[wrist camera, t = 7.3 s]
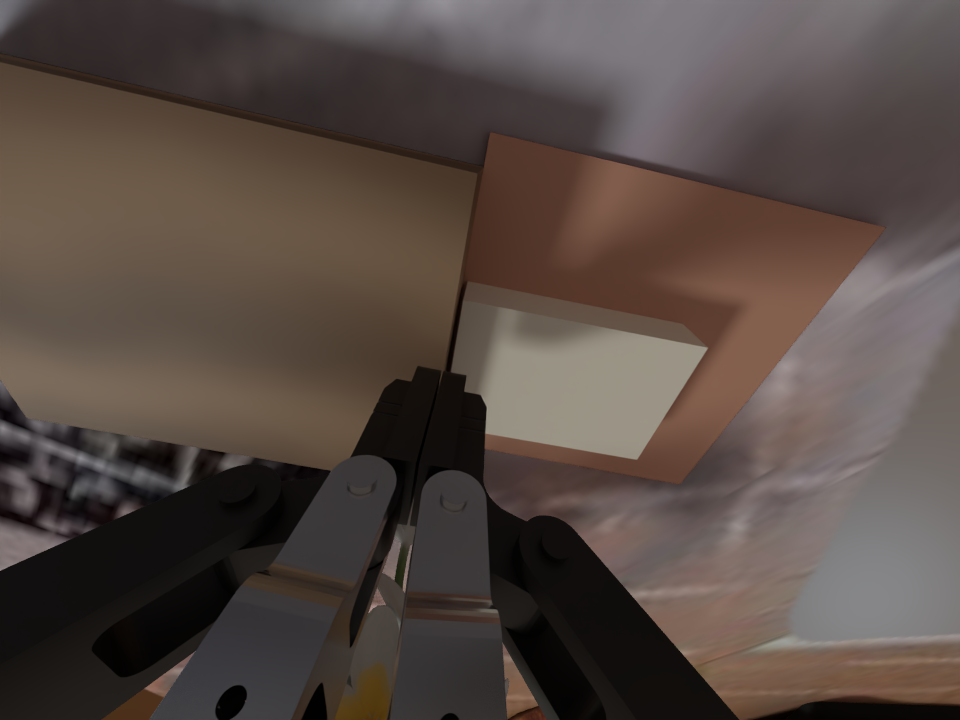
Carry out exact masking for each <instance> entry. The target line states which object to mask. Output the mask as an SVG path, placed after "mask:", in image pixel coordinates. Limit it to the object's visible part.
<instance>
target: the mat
mask: <svg viewBox="0 0 960 720" xmlns="http://www.w3.org/2000/svg"><path fill="white" fill-rule="evenodd" d="M885 229H886V227H882V226H878V225H874V224H869V223H865V222H861V221H857V220H853V219H849V218H845V217H841V216H836V215H832V214H828V213H824V212H820V211H816V210H812V209H807V208H803V207H799V206H795V205H791V204H787V203H783V202H778V201H774V200H770V199H766V198H762V197H758V196H754V195H749V194H745V193H741V192H737V191H733V190H729V189H725V188H720V187H716V186H712V185H708V184H704V183H700V182H696V181H691V180H687V179H683V178H679V177H675V176H671V175H667V174H662V173H658V172H654V171H650V170H646V169H642V168H638V167H633V166H629V165H625V164H621V163H617V162H613V161H609V160H604V159H600V158H596V157H592V156H588V155H584V154H580V153H576V152H571V151H567V150H563V149H559V148H555V147H551V146H547V145H542V144H538V143H534V142H530V141H526V140H522V139H518V138H513V137H509V136H505V135H501V134H497V133H493V132H490V136H489V141H488V147H487V153H486V158H485V164H484V169H483V175H482V180H481V186H480V191H479V197H478V202H477V208H476V214H475V219H474V225H473V230H472V236H471V241H470V247H469V252H468V258H467V263H466V269H465V275H464V280H463V286H462V291H461V297H460V302H459V308H458V313H457V319H456V325H455V330H454V336H453V341H452V347H451V352H450V358H449V363H448V369H447V372H451V368H452V363H453V357H454V351H455V345H456V339H457V333H458V327H459V322H460V316H461V310H462V304H463V299H464V295H465V291H466V286H467V282H468V281H469V282H475V283H480V284H485V285H490V286H495V287H500V288H505V289H510V290H515V291H520V292H525V293H530V294H535V295H540V296H545V297H550V298H555V299H560V300H565V301H570V302H575V303H580V304H585V305H590V306H596V307H601V308H606V309H611V310H616V311H621V312H626V313H631V314H636V315H641V316H646V317H651V318H656V319H661V320H666V321H671V322H676V323H681V324H683V325H685V326H686V327H687V328H688V329H689V330H690V331H691V332H692V333H693V334H694V335H695V336H696V337H697V338H698V339H699V340H700V341H701V342H702V343H704V344H705V345H706V346H707V347H708V349H707V350H706V352H705V354H704V355H703V357H702V358H701V360H700V361H699V363H698V365H697V366H696V368H695V369H694V371H693V372H692V374H691V376H690V377H689V379H688V380H687V382H686V383H685V385H684V387H683V388H682V390H681V391H680V393H679V395H678V396H677V398H676V399H675V401H674V402H673V404H672V406H671V407H670V409H669V410H668V412H667V413H666V415H665V417H664V418H663V420H662V421H661V423H660V424H659V426H658V428H657V429H656V431H655V432H654V434H653V435H652V437H651V439H650V440H649V442H648V443H647V445H646V446H645V448H644V450H643V451H642V453H641V454H640V456H639V457H638V459H637V460H635V459H630V458H624V457H618V456H612V455H607V454H601V453H595V452H589V451H584V450H578V449H572V448H566V447H560V446H555V445H549V444H543V443H537V442H532V441H526V440H520V439H514V438H509V437H503V436H497V435H491V434H486V433H485V449H487V450H492V451H498V452H503V453H509V454H515V455H520V456H526V457H531V458H537V459H542V460H548V461H553V462H559V463H564V464H570V465H575V466H581V467H586V468H592V469H597V470H603V471H608V472H614V473H619V474H625V475H630V476H636V477H641V478H647V479H652V480H658V481H663V482H669V483H674V484H681V483H682V481H683V480H684V479H685V478H686V476H687V475H688V474H689V473H690V471H691V470H692V469H693V468H694V467H695V465H696V464H697V463H698V462H699V460H700V459H701V458H702V457H703V455H704V454H705V453H706V452H707V450H708V449H709V448H710V447H711V445H712V444H713V443H714V442H715V440H716V439H717V438H718V437H719V435H720V434H721V433H722V432H723V430H724V429H725V428H726V427H727V425H728V424H729V423H730V422H731V420H732V419H733V418H734V417H735V415H736V414H737V413H738V412H739V410H740V409H741V408H742V407H743V405H744V404H745V403H746V402H747V401H748V399H749V398H750V397H751V396H752V394H753V393H754V392H755V391H756V389H757V388H758V387H759V386H760V384H761V383H762V382H763V381H764V379H765V378H766V377H767V376H768V374H769V373H770V372H771V371H772V369H773V368H774V367H775V366H776V364H777V363H778V362H779V361H780V359H781V358H782V357H783V356H784V354H785V353H786V352H787V351H788V349H789V348H790V347H791V346H792V344H793V343H794V342H795V341H796V340H797V338H798V337H799V336H800V335H801V333H802V332H803V331H804V330H805V328H806V327H807V326H808V325H809V323H810V322H811V321H812V320H813V318H814V317H815V316H816V315H817V313H818V312H819V311H820V310H821V308H822V307H823V306H824V305H825V303H826V302H827V301H828V300H829V298H830V297H831V296H832V295H833V293H834V292H835V291H836V290H837V288H838V287H839V286H840V285H841V283H842V282H843V281H844V280H845V278H846V277H847V276H848V275H849V274H850V272H851V271H852V270H853V269H854V267H855V266H856V265H857V264H858V262H859V261H860V260H861V259H862V257H863V256H864V255H865V254H866V252H867V251H868V250H869V249H870V247H871V246H872V245H873V244H874V242H875V241H876V240H877V239H878V237H879V236H880V235H881V234H882V232H883V231H884V230H885Z"/></svg>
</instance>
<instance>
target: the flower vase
mask: <svg viewBox="0 0 960 720" xmlns="http://www.w3.org/2000/svg"><path fill="white" fill-rule="evenodd" d="M413 501H414V499H413ZM412 507H413V503H412ZM412 507H411V511H410V515H409V519H408V523H407V525H401V524H398V525H397V529H396V532H395V536H394V537H395V538H396V539H397V540H399V541H400V543H401V548H400V553H399V558H398V563H397V569H396V575H395V581H394V580H392V579H391V578H390V577H388V576H387V575H386V574H383V573H382V575H381V578H380V581H379V584H378V586H377V587H378V589H379V591H380V593H381V595H382V597H383V600H384V602H385V604H386V605H378V606H377V607H375V608H373V609H372V611H371V612H370V613H369V614H368V615H367V617H366V620H365V623H364V626H363V629H362V632H361V634H360V637H359V640H358V643H357V646H356V649H355V652H354V655H353V659H352V663H351V667H350V671H349V675H348V679H347V682H346V686H345V689H344V692H343V695H342V698H341V702H340V704H339V707H338V710H337V713H336V716H335V719H334V720H386V717H387V710H388V704H389V697H390V690H391V684H392V678H393V671H394V665H395V658H396V652H397V645H398V638H399V631H400V624H401V618H402V611H403V604H404V597H405V593H404V591H403V580H404V573H405V567H406V561H407V556H408V552H409V548H410V545H412V544H413V540H414V534H415V528H416V527H415V526H410V520H411V514H412ZM508 687H509V680H508V678H507V679H506V680H505V693H506V696H507V693H508Z"/></svg>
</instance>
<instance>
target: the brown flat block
mask: <svg viewBox="0 0 960 720" xmlns="http://www.w3.org/2000/svg"><path fill="white" fill-rule="evenodd" d="M483 169H484V167H483V166H478V165H474V164H470V163H466V162H461V161H457V160H453V159H449V158H444V157H440V156H436V155H432V154H427V153H423V152H419V151H415V150H410V149H406V148H402V147H397V146H393V145H389V144H385V143H380V142H376V141H372V140H368V139H363V138H359V137H355V136H351V135H346V134H342V133H338V132H334V131H329V130H325V129H321V128H316V127H312V126H308V125H304V124H299V123H295V122H291V121H287V120H282V119H278V118H274V117H270V116H265V115H261V114H257V113H253V112H248V111H244V110H240V109H236V108H231V107H227V106H223V105H218V104H214V103H210V102H206V101H201V100H197V99H193V98H189V97H184V96H180V95H176V94H172V93H167V92H163V91H159V90H155V89H150V88H146V87H142V86H137V85H133V84H129V83H125V82H120V81H116V80H112V79H108V78H103V77H99V76H95V75H91V74H86V73H82V72H78V71H74V70H69V69H65V68H61V67H57V66H52V65H48V64H44V63H39V62H35V61H31V60H27V59H22V58H18V57H14V56H10V55H5V54H1V53H0V380H1V381H2V383H3V384H4V386H5V387H6V388H7V390H8V391H9V393H10V394H11V396H12V397H13V399H14V400H15V401H16V403H17V404H18V406H19V407H20V409H21V410H22V412H23V413H24V415H25V416H26V417H27V418H29V419H35V420H41V421H47V422H53V423H58V424H64V425H70V426H76V427H82V428H87V429H93V430H99V431H105V432H111V433H116V434H122V435H128V436H134V437H140V438H145V439H151V440H157V441H163V442H169V443H174V444H180V445H186V446H192V447H198V448H203V449H209V450H215V451H221V452H227V453H232V454H238V455H244V456H250V457H256V458H261V459H267V460H273V461H279V462H285V463H290V464H296V465H302V466H308V467H314V468H319V469H325V470H331V471H332V470H333V469H334V468H335V467H336V466H337V465H338V464H339V463H341V462H342V461H344V460H346V459H348V458H350V457H351V455H352V453H353V451H354V449H355V447H356V445H357V443H358V441H359V439H360V437H361V435H362V433H363V431H364V429H365V427H366V425H367V422H368V420H369V418H370V416H371V414H373V410H374V408H375V406H376V404H377V403H378V400H379V398H380V396H381V394H382V392H383V390H384V388H385V387H386V386H388V385H389V384H390V383H392V382H393V381H394V380H396V379H401V380H406V381H412V379H413V376H414V373H415V371H416V368H417V366H421V367H427V368H432V369H437V370H441V378H442V374H443V371H447V369H448V363H449V358H450V352H451V347H452V341H453V336H454V330H455V325H456V319H457V313H458V308H459V302H460V297H461V291H462V286H463V280H464V275H465V269H466V263H467V258H468V252H469V247H470V241H471V236H472V230H473V225H474V219H475V214H476V208H477V202H478V197H479V191H480V186H481V180H482V175H483ZM441 378H440V382H441ZM439 385H440V383H439Z"/></svg>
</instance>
